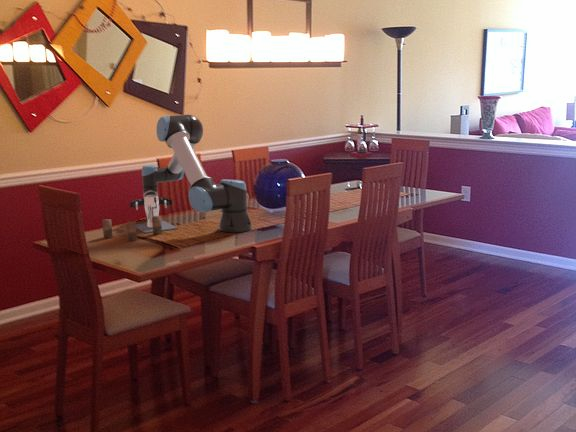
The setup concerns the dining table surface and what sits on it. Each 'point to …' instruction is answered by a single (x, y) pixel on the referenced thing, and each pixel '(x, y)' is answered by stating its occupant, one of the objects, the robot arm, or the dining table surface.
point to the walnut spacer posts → (131, 228)
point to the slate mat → (149, 230)
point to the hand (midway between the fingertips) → (151, 206)
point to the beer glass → (151, 208)
